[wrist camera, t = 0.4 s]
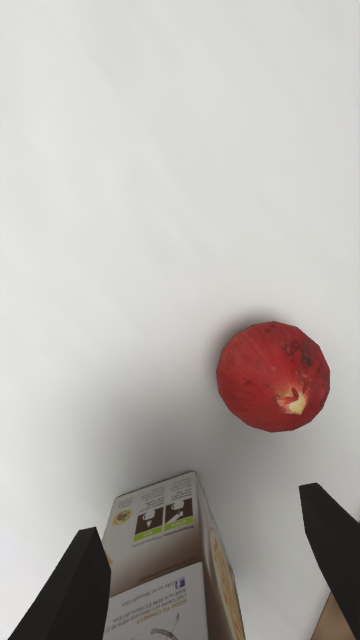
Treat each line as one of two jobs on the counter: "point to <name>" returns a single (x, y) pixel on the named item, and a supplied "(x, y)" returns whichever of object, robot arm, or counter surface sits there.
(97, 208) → the counter surface
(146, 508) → the coffee box
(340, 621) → the arena
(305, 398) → the red round fruit
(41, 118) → the counter surface
